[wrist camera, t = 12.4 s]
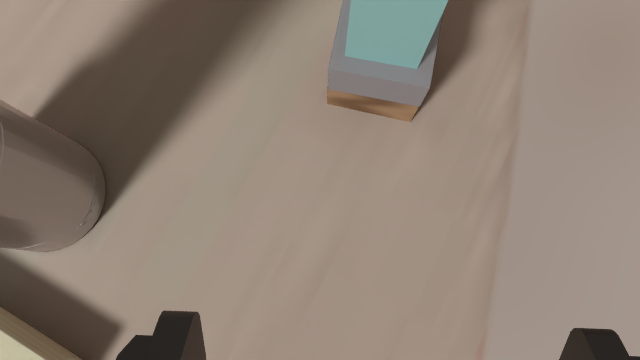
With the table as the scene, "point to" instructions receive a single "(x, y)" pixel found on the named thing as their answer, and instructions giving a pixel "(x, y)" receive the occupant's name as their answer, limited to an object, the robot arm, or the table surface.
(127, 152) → the table surface
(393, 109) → the tower base
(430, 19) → the pillar
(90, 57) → the table surface
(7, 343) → the puzzle box
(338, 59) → the tower top
